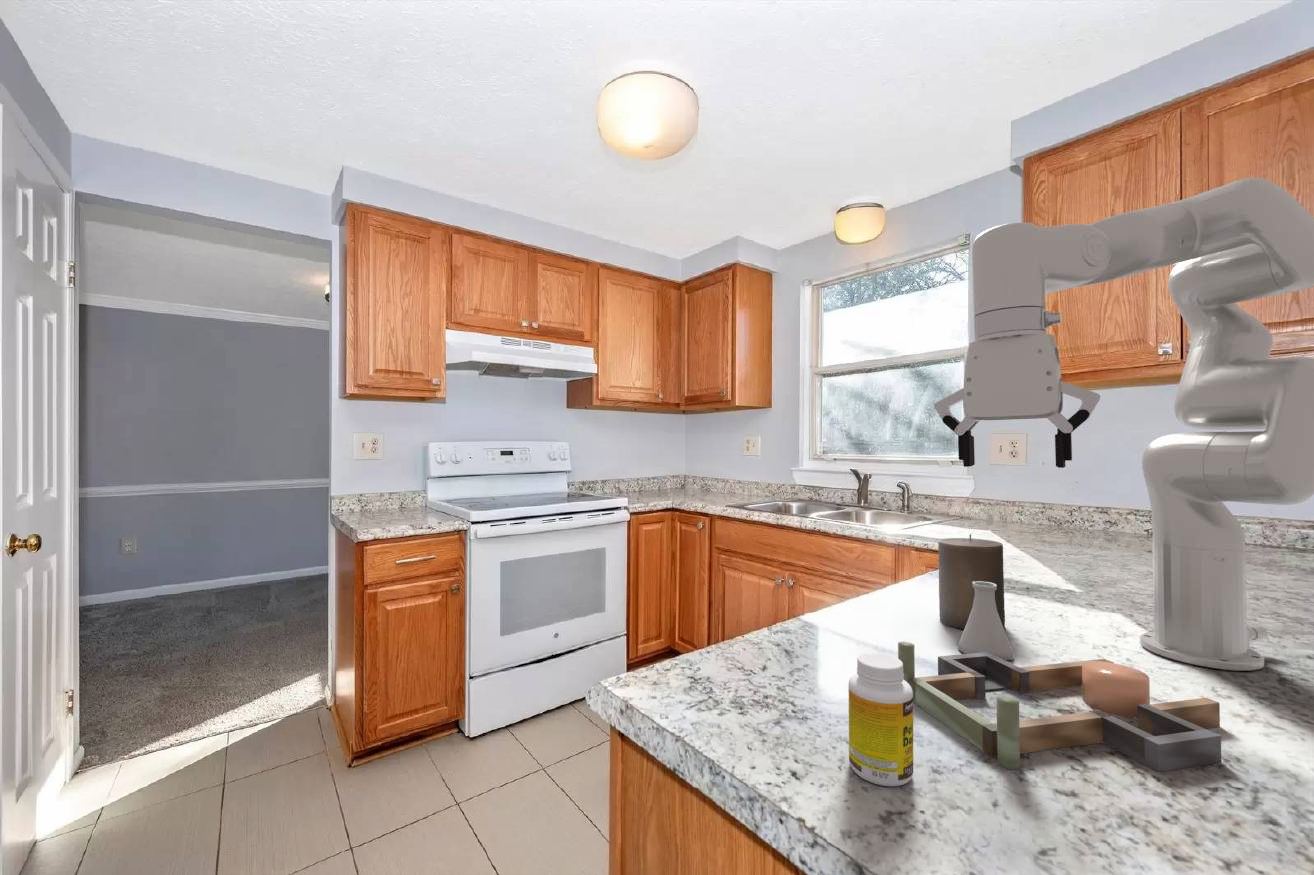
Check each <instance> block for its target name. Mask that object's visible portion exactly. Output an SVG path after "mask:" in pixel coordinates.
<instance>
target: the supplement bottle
mask: <svg viewBox="0 0 1314 875" xmlns="http://www.w3.org/2000/svg"><path fill="white" fill-rule="evenodd" d="M856 662H857V667H856V673H854V674H853V675H851V677H849V679H848V760H849V765H850V767H851V769H852V770H853V771H854V773H855V774H856V775H857V776H859V777H860V778H862V779H863V780H865V781H867V782H870V783H872V784H875V785H879V786H884V787H900V786H903V785H906V784H907V783H909V782H910V781H911V780H912V778H913V775H914V703H913V691H912V688H911V686H910V685H909V684H908V683H907V682H906V681H905V680H904V679H903V677H904V673H903V663H902V661H901V660H899V659H898V657H896V656H893V655H890V654H886V653H879V652H867V653H862V654H860V655H858V657H857V661H856Z"/></svg>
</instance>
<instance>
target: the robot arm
mask: <svg viewBox="0 0 1314 875" xmlns="http://www.w3.org/2000/svg"><path fill="white" fill-rule="evenodd" d="M971 247H972V248H971V249H972V250H971V255H972V258H971V259H972V261H971V262H972V263H971V264H972V290H973V291H972V292H973V294H972V299H973V323H974V324H973V327H974V328H973V330H974V331H973V332H974V334H973V335H974V341H972V342H969V343H968V348H967V352H966V358H965V359H966V360H965V365H964V374H963V376H964V377H963V388H961V389H958V390H957V391H956V392H954V393H951V394H949V395H948V396H946V397H943V399H940V400H938V401H936V402H935V403H934V404H933V405H934V406H933V407H934V409H935V411H936V413H937V414H938V415H939V418H941V420H942V423H943V424H944V425H946V427H948V428H949V429H950V430H951V431H952V432H954V434H955V435H956V436H957V444H958V447H957V448H958V449H957V450H958V451H957V452H958V460H959V461H962V462H963V463H962V464H963V467H965V468H969V467H973V466H975V464H976V463H975V462H976V461H975V459H976V458H975V436H973V435H972V430H973V429H974V428H976V426H977V425H978V424H979V422H980V421H1007V420H1008V421H1009V420H1011V421H1012V420H1032V419H1033V420H1034V419H1035V420H1036V419H1047V420H1049V422H1050V423H1052V424H1053V425H1054V426H1055V427H1056V429H1057V430H1056V431H1057V433H1055V434H1054V448H1055V449H1054V450H1055V453H1054V454H1055V467H1056V468H1059V469H1061V468H1063V469H1064V468H1066V461H1070V462H1071V461H1073V448H1072V447H1073V446H1072V445H1073V444H1072V433H1073V432H1074V431H1075V430H1076V429H1078V428H1079V427H1080V426H1081V425H1082V424H1083V423H1084V422H1086V421H1087V420H1088V419H1089V418H1090V416H1091V415H1092V413H1093V412H1094V411H1095V408H1096V407H1097V405H1098V403H1099V402H1100V400H1101V395H1100V394H1099V393H1098V392H1095V391H1092V390H1089V389H1085V388H1082V387H1080V386H1077V385H1074V384H1072V383H1068V382H1065V381H1062V371H1061V361H1060V355H1059V349H1058V345H1057V341H1056V338H1055V335H1053V334H1051V333H1047V332H1048V329H1050V327H1052V326H1054V325H1060V324H1062V318H1061V312H1052V311H1051V312H1049V310H1046V295H1049V294H1054V293H1057V292H1060V291H1065V290H1069V289H1074V288H1079V287H1080V288H1081V287H1084V286H1090V285H1097V284H1102V283H1108V282H1113V281H1115V280H1120V279H1123V278H1128V277H1130V276H1131V277H1132V276H1136V275H1139V274H1143V273H1146V272H1150V271H1153V270H1157V269H1162V268H1165V267H1169V266H1173V265H1175V266H1174V267H1173V268H1172V269H1171V272H1170V274H1169V277H1168V282H1167V283H1168V292H1169V294H1170V296H1171V299H1172V301H1173V303H1174V304H1175V306H1176V308H1177V311H1178V312H1179V314H1180V316H1181V317H1182V320H1183V321H1184V323H1185V324H1186V327H1187V329H1188V332H1189V335H1190V344H1189V345H1190V346H1189V349H1188V352H1187V353H1188V354H1187V357H1186V359H1185V360H1186V361H1185V364H1184V367H1183V370H1182V374H1181V377H1180V380H1179V384H1178V387H1177V390H1176V394H1175V400H1174V403H1173V404H1174V405H1173V406H1174V407H1173V409H1174V414H1175V416H1176V419H1177V420H1178V421H1179V422H1180V423H1181V424H1183V425H1185V426H1187V427H1189V428H1193V429H1198V430H1199V429H1200V430H1207V431H1192V432H1191V431H1189V432H1176V433H1172V434H1167V435H1163V436H1161V437H1158V438H1156V439H1154V440H1153V441H1151V442H1150V443H1149V444H1148V445H1147V446H1146V447H1145V449H1144V451H1143V453H1142V459H1141V466H1142V467H1141V468H1142V469H1141V470H1142V473H1143V478H1144V482H1145V485H1146V488H1147V493H1148V498H1149V503H1150V513H1151V528H1152V530H1151V531H1152V593H1153V594H1152V596H1153V597H1152V598H1153V604H1152V606H1153V631H1148V632H1144V633H1142V634H1141V635H1140V638H1139V642H1140V644H1141V646H1143V647H1144V648H1145V649H1146V650H1148V651H1150V652H1151V653H1154V654H1156V655H1158V656H1162V657H1165V658H1168V659H1170V660H1173V661H1178V662H1182V663H1185V664H1189V665H1193V666H1194V665H1195V666H1200V667H1205V668H1209V669H1210V668H1211V669H1217V670H1227V671H1236V672H1237V671H1240V672H1242V671H1243V672H1244V671H1245V672H1247V671H1249V672H1250V671H1257V670H1260V669H1263V668H1264V667H1265V657H1264V656H1263V655H1262V654H1261V653H1259V652H1258V651H1255V650H1254V649H1251V648H1250V643H1251V642H1252V641H1257V640H1264V639H1267V637H1268V632H1267V630H1266V629H1265V628H1264V627H1263V626H1261V625H1257V624H1256V625H1248V624H1247V591H1246V588H1247V586H1246V583H1247V582H1246V581H1247V580H1246V578H1247V577H1246V537H1245V533H1244V529H1243V528H1242V526H1241V523H1240V522H1239V521H1238V519H1237V518H1236V516H1235V515H1234V514H1233V513H1232V512H1231V511H1230V509H1229V508H1228V507H1227V506H1226V504H1224V503H1225V502H1229V503H1230V502H1233V503H1247V504H1259V505H1277V506H1284V505H1285V506H1289V505H1297V504H1301V503H1304V502H1306V501H1307V500H1309V499H1310V498H1311V497H1313V495H1314V358H1313V357H1308V356H1291V357H1279V358H1271V359H1270V355H1271V351H1272V347H1273V340H1274V339H1273V336H1272V332H1271V331H1270V330H1269V329H1268V328H1267V327H1266V326H1265V325H1264V324H1263V322H1261V321H1260V320H1259V319H1257V318H1256V317H1255V316H1253V315H1252V314H1249V313H1248V312H1246V311H1245V310H1244V309H1242V308H1241V307H1240V306H1239V305H1238V304H1237V303H1240V302H1242V303H1243V302H1248V301H1252V300H1258V299H1262V298H1268V297H1273V296H1277V295H1283V294H1289V293H1290V294H1291V293H1295V292H1299V291H1304V290H1307V289H1310V288H1313V287H1314V216H1313V215H1311V213H1309V211H1307V209H1306V208H1305V207H1304V206H1303V205H1302V204H1301V203H1300V202H1299V201H1298V200H1297V199H1296V198H1295V197H1294V196H1292V195H1291V194H1290V193H1289V192H1288V191H1287V190H1285V189H1284V188H1283V187H1281V186H1280V185H1278V184H1277V183H1274V182H1273V181H1270V180H1268V179H1266V178H1262V177H1256V176H1255V177H1246V178H1242V179H1239V180H1236V181H1233V182H1231V183H1227V184H1224V185H1222V186H1218V187H1215V188H1212V189H1210V190H1207V191H1204V192H1202V193H1199V194H1195V195H1192V196H1190V197H1187V198H1183V199H1180V200H1177V201H1172V202H1169V203H1164V204H1159V205H1155V206H1151V207H1146V208H1140V209H1137V210H1130V211H1126V212H1122V213H1118V214H1116V215H1112V216H1109V217H1107V218H1104V219H1101V220H1098V221H1095V222H1093V223H1090V224H1084V223H1071V224H1059V225H1048V226H1045V225H1044V226H1038V225H1037V224H1034V223H1032V222H1023V221H1022V222H1011V223H1005V224H1000V225H996V226H994V227H992V228H989V229H986V230H985V231H983V232H981V233H980V234H978V235H977V236H976V238H975V239H974V240H973V243H972V246H971ZM1063 395H1067V396H1069V397H1072V398H1075V399H1078V400H1080V401H1081V402H1082V403H1081V405H1080V407H1079V408H1078V410H1077V411H1076V412H1075V413H1073V415H1072V416H1070V417H1069V418H1068V419H1067V417H1065V416H1064V415H1063V414H1062V411H1063V408H1064V406H1063V405H1064V396H1063ZM960 402H962V403H963V404H962V405H963V407H962V408H963V414H964V415H965V416H964V418H962V419H961V421H960V420H959V419H957V418H956V417H955V416H954V415H953V414H952V411H951V407H953V406H954V405H957V404H959V403H960ZM1208 430H1210V431H1208ZM1235 430H1237V431H1235ZM1238 430H1239V431H1238ZM1240 430H1242V431H1240ZM1243 430H1245V431H1243ZM1246 430H1247V431H1246ZM1248 430H1258V431H1248ZM1259 430H1262V431H1259Z"/></svg>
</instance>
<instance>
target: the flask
mask: <svg viewBox="0 0 1314 875" xmlns="http://www.w3.org/2000/svg"><path fill="white" fill-rule="evenodd" d="M972 586H973V587H974V589H975V597H974V602H973V608H972V610H971V613H970V616H969V619H968V621H967V624H966V626H965V629H963V631H962V633H961V637H960V639H959V641H958V645H957V646H958V647H957V650H958V651H960V652H962V653H963V654H970V653H981V652H988V653H990V654H992V655H994V656H996V657H999V658H1001V659H1003V660H1005V661H1013V660H1014V661H1015V657H1014V652H1013V649H1012V647H1011V644H1010V641H1009V638H1008V637H1007V634H1006V631H1005V629H1003V626H1002V623H1001V620H1000V617H999V615H998V612H997V608H996V603H995V590H997V584H994V583H991V582H983V581H975V582H972Z"/></svg>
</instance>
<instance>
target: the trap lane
mask: <svg viewBox="0 0 1314 875" xmlns="http://www.w3.org/2000/svg"><path fill="white" fill-rule="evenodd" d="M897 658H898V659H899V660H901V661H902V663H903V673H904V677H903V679H904V680H905V681H906V682H907V683H908V684H909V685H910V686H911V688H912V691H913V704H915V705H917V706H918V708H921V709H922V710H924V711H925V712H927V713H928V714H929V715H931V716H932V717H934V718H935V719H936V720H938V721H940V722H941V723H942V724H943V725H945V726H947V727H948V728H949V729H951V730H952V731H954V732H955V733H956V734H958V735H959V736H961V737H963V738H964V739H965V740H967V741H968V742H970V743H971V744H973V745H974V746H975V747H977V748H978V749H980V750H981V751H982V752H984V753H985V754H987V755H989V756H990V757H991V758H997V761H996V762H997V764H998V765H999V766H1000V767H1002V768H1005V769H1007V770H1013V771H1014V770H1015V771H1016V770H1019V769H1020V768H1021V754H1026V753H1033V752H1034V753H1035V752H1041V751H1048V750H1049V751H1050V750H1055V749H1064V748H1072V747H1078V746H1085V745H1086V746H1087V745H1093V744H1099V743H1103V744H1106V745H1107V746H1109V747H1111V748H1112V749H1115V750H1117V751H1119V752H1121V753H1122V754H1124V755H1126V756H1128V757H1130V758H1132V759H1133V760H1135V761H1137V762H1140V763H1141V764H1142V765H1144V766H1147V767H1148V768H1151V769H1152V770H1154V771H1155V772H1158V773H1160V772H1168V771H1174V770H1179V769H1180V770H1181V769H1187V768H1193V767H1200V766H1206V765H1212V764H1219V763H1220V764H1221V763H1222V736H1221V735H1220V734H1218V733H1215V732H1213V731H1211V730H1208V729H1209V728H1216V727H1217V728H1218V727H1221V720H1220V719H1221V718H1220V710H1221V709H1220V702H1218V701H1217V700H1213V699H1211V698H1209V697H1202V698H1193V699H1185V700H1177V701H1175V700H1174V701H1169V702H1168V701H1167V702H1160V703H1150V705H1148V704H1141V705H1138V718H1137V727H1136V726H1134V725H1132V724H1129V723H1128V722H1125V721H1123V720H1122V719H1119V718H1116V716H1114V715H1111V714H1108V713H1105V712H1102V711H1100V710H1097V709H1093V710H1089V711H1087V712H1078V713H1069V714H1063V715H1060V714H1059V715H1054V716H1045V717H1038V718H1028V719H1021V720H1020V701H1019V700H1018V699H1017V698H1014V697H1012V696H1007V695H998V696H996V723H992V722H991V721H989V720H987V719H986V718H984V717H983V716H981V715H979V714H978V713H976V712H975V711H973V710H972V709H970V708H968V707H966V706H965V705H964V704H961V703H960V702H958V700H954V699H959V700H965V699H966V698H968V699H985V698H986V695H987V694H986V692H992V691H1000V690H1001V691H1002V690H1010V689H1012V690H1014V691H1016V692H1018V693H1019V694H1028V693H1030V692H1039V691H1045V690H1047V691H1048V690H1055V689H1067V688H1075V687H1082V664H1083V663H1085V662H1090V661H1100V662H1109V663H1115V662H1114V661H1111V660H1108V659H1106V658H1100V659H1091V660H1090V659H1089V660H1079V661H1070V662H1059V663H1048V664H1039V665H1029V666H1022V667H1021V666H1018V665H1015V664H1013V663H1011V662H1009V661H1008V660H1003V659H1001V658H999V657H996V656H994V655H992V654H990V653H988V652H981V653H970V654H965V653H961V654H951V655H949V654H948V655H939V656H937V675H929V676H928V675H927V676H920V677H916V674H915V671H916V670H915V668H916V666H915V659H916V658H915V644H914V643H912V642H909V641H899V642H897ZM972 697H973V698H972ZM974 697H975V698H974ZM964 698H965V699H964Z"/></svg>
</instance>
